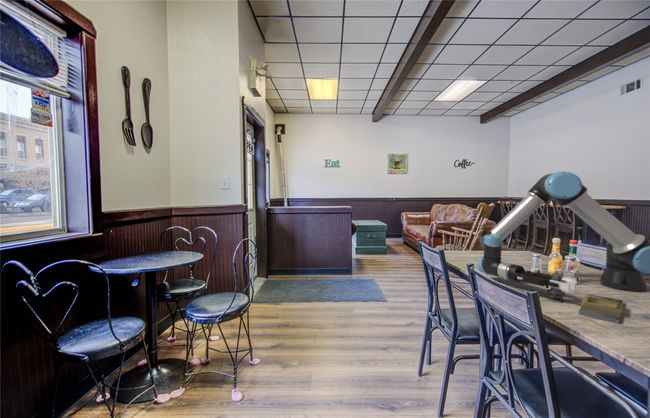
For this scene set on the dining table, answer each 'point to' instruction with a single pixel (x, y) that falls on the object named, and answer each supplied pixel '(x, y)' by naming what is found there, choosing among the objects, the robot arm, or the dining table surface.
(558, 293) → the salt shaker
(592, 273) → the dining table surface
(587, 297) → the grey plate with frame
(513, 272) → the robot arm
